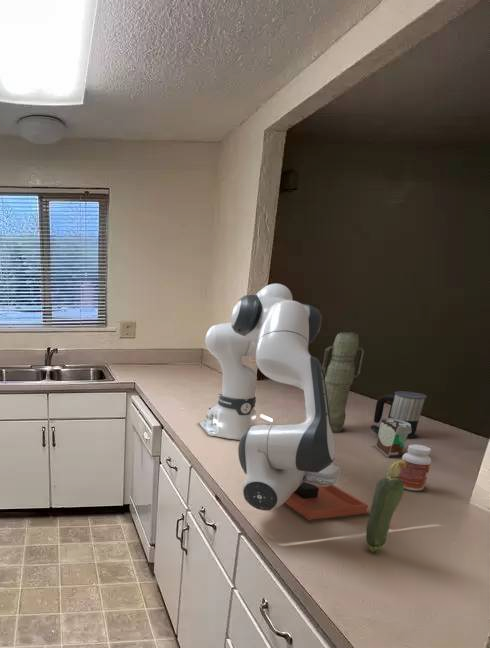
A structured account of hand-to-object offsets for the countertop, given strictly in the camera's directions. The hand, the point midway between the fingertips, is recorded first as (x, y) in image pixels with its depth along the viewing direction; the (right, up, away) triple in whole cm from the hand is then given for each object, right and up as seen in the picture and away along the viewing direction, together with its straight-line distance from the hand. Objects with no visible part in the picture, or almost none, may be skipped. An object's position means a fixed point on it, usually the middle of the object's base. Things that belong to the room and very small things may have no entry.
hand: (300, 457), depth 112 cm
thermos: (+36, +9, +51) cm, 63 cm away
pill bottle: (+31, -8, +4) cm, 32 cm away
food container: (+43, 0, +27) cm, 51 cm away
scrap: (0, -9, -2) cm, 10 cm away
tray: (+1, -10, -2) cm, 10 cm away
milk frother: (+54, +6, +43) cm, 69 cm away
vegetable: (+3, -18, -24) cm, 30 cm away
